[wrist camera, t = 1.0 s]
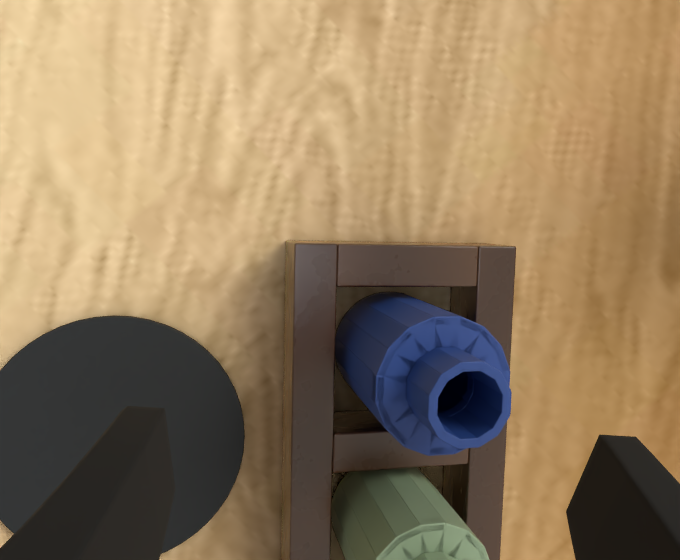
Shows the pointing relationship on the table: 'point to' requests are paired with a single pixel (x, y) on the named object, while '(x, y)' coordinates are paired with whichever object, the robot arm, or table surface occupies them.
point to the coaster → (104, 406)
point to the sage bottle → (399, 519)
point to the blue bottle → (424, 373)
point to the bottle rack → (362, 426)
